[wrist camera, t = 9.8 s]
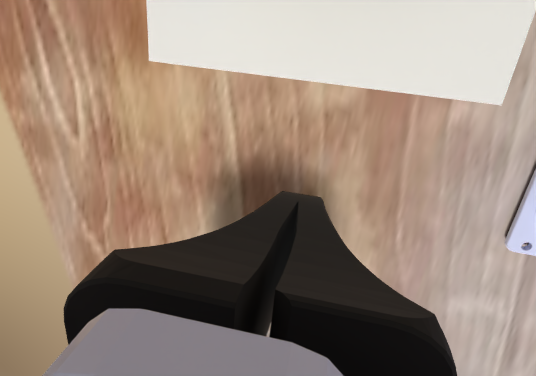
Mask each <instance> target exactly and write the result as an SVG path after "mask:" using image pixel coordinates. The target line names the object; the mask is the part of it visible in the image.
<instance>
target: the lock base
mask: <svg viewBox="0 0 536 376" xmlns="http://www.w3.org/2000/svg"><path fill="white" fill-rule="evenodd" d="M535 11H536V0H147V22H148V45H149V61H154V62H161V63H169V64H177V65H185V66H193V67H201V68H209V69H217V70H225V71H233V72H241V73H249V74H257V75H265V76H273V77H281V78H289V79H297V80H305V81H313V82H321V83H329V84H337V85H345V86H352V87H360V88H368V89H376V90H384V91H392V92H400V93H408V94H416V95H424V96H432V97H440V98H448V99H456V100H464V101H472V102H480V103H488V104H496V105H502V103H503V100H504V98H505V95H506V92H507V89H508V86H509V84H510V81H511V78H512V75H513V72H514V70H515V67H516V64H517V61H518V58H519V56H520V53H521V50H522V47H523V44H524V42H525V39H526V36H527V33H528V30H529V28H530V25H531V22H532V19H533V16H534V14H535Z"/></svg>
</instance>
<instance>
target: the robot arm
mask: <svg viewBox="0 0 536 376" xmlns="http://www.w3.org/2000/svg"><path fill="white" fill-rule="evenodd" d="M527 242H529V244H528V245H527V246H525V247H522V244H524V243H527ZM505 245H506V247H507V248H508V249H509V250H510V251H513V252H518V253H523V254H529V255H535V256H536V169H535V171H534V174H533V176H532V178H531V181H530V183H529V185H528V188H527V190H526V192H525V195H524V197H523V199H522V202H521V204H520V206H519V209H518V211H517V214H516V216H515V218H514V221H513V223H512V225H511V228H510V230H509V232H508V235H507V237H506V239H505ZM64 323H65V328H66V334H67V339H68V344H69V345H68V346H67V348H66V349H65V350H64V351H63V352H62V353H61V355H60V356H59V357H58V358H57V359H56V361H55V362H54V363H53V364H52V365H51V366H50V367H49V368H48V370H47V371H46V372H45V373H44V374H43V375H42V376H457V372H456V366H455V363H454V360H453V357H452V353H451V350H450V348H449V345H448V343H447V340H446V338H445V335H444V333H443V331H442V329H441V327H440V325H439V323H438V321H437V318H436V316H435V314H433V313H432V312H430V311H428V310H426V309H425V308H423V307H421V306H419V305H418V304H416V303H414V302H412V301H411V300H409V299H407V298H405V297H404V296H402V295H401V294H399V293H398V292H396V291H395V290H393V289H392V288H391V287H389V286H388V285H386V284H385V283H384V282H382V281H381V280H380V279H379V278H377V277H376V276H375V275H374V274H373V273H372V272H370V271H369V270H368V269H367V268H366V267H365V266H364V265H363V264H362V263H361V262H360V261H359V260H358V259H357V258H356V257H355V256H354V255H353V254H352V252H351V251H350V250H349V249H348V248H347V246H346V245H345V244H344V242H343V241H342V239H341V238H340V236H339V235H338V233H337V231H336V230H335V228H334V226H333V224H332V222H331V220H330V218H329V216H328V214H327V212H326V209H325V206H324V202H323V200H322V199H321V197H315V196H309V195H303V194H297V193H291V192H285V191H282V192H281V193H279V194H278V195H276V196H275V197H273V198H272V199H271V200H269V201H268V202H267V203H265V204H264V205H263V206H261V207H260V208H258V209H257V210H255V211H254V212H252V213H250V214H249V215H247V216H245V217H243V218H242V219H240V220H238V221H236V222H234V223H232V224H230V225H228V226H226V227H223V228H221V229H218V230H216V231H213V232H210V233H207V234H204V235H201V236H197V237H194V238H191V239H187V240H183V241H179V242H174V243H169V244H163V245H157V246H150V247H140V248H130V249H118V250H114V251H113V252H111V253H110V254H109V255H108V256H107V257H106V258H105V259H104V260H103V261H102V262H101V263H100V264H99V265H98V266H97V267H96V268H95V269H93V270H92V271H91V272H90V273H89V274H88V275H87V276H86V277H85V278H84V279H83V280H82V281H81V282H80V283H79V284H78V285H77V286H76V287H75V289H74V290H73V291H72V292H71V293H70V294H69V295H68V297H67V300H66V303H65V306H64ZM270 324H271V327H270ZM269 327H270V335H269V337H266V336H267V333H268V330H269Z"/></svg>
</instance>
